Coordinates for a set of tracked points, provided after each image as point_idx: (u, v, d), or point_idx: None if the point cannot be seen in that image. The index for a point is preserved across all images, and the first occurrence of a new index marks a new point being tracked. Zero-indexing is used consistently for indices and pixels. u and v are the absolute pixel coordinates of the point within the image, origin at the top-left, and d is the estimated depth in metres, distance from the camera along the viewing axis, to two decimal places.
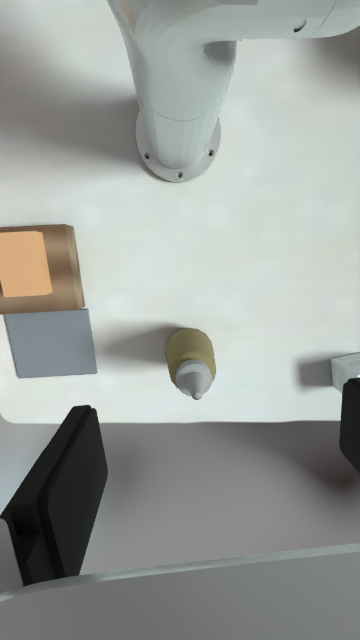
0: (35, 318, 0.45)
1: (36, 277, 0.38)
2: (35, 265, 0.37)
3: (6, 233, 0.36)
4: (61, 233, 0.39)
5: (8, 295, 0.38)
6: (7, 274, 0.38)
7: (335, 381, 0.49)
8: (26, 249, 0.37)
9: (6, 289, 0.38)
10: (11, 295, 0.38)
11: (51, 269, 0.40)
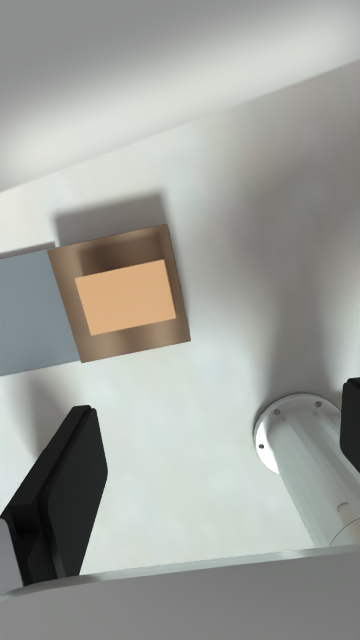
0: (57, 292, 0.31)
1: (113, 323, 0.27)
2: (130, 321, 0.27)
3: (166, 282, 0.26)
4: (178, 337, 0.30)
5: (79, 284, 0.26)
6: (110, 282, 0.26)
7: None
8: (150, 308, 0.26)
9: (87, 281, 0.26)
10: (79, 289, 0.26)
11: None
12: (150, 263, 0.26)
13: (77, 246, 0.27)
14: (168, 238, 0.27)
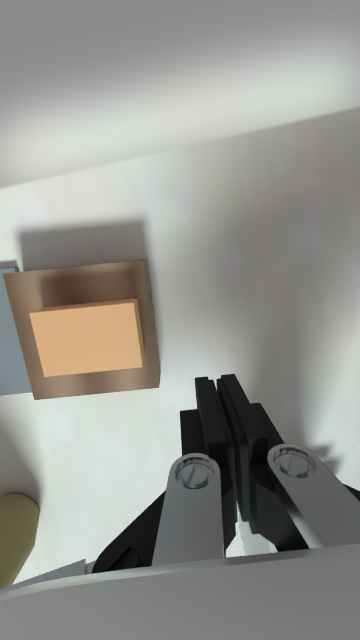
0: None
1: (71, 366, 0.24)
2: (90, 366, 0.24)
3: (135, 327, 0.23)
4: (146, 382, 0.27)
5: (34, 320, 0.23)
6: (70, 321, 0.23)
7: None
8: (113, 354, 0.23)
9: (43, 318, 0.23)
10: (34, 325, 0.23)
11: None
12: (118, 305, 0.22)
13: (38, 274, 0.24)
14: (143, 276, 0.24)
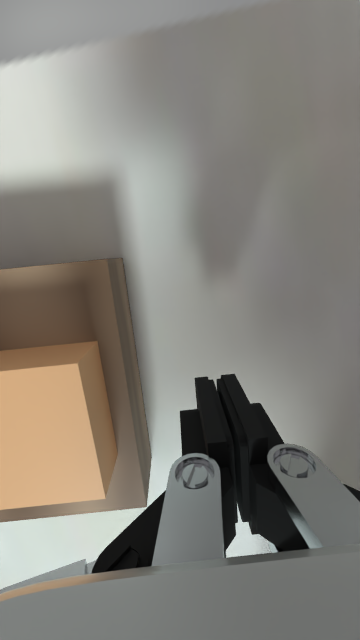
0: None
1: None
2: None
3: (85, 418, 0.10)
4: (120, 498, 0.14)
5: None
6: None
7: None
8: (39, 474, 0.10)
9: None
10: None
11: None
12: (41, 370, 0.09)
13: None
14: (109, 294, 0.11)
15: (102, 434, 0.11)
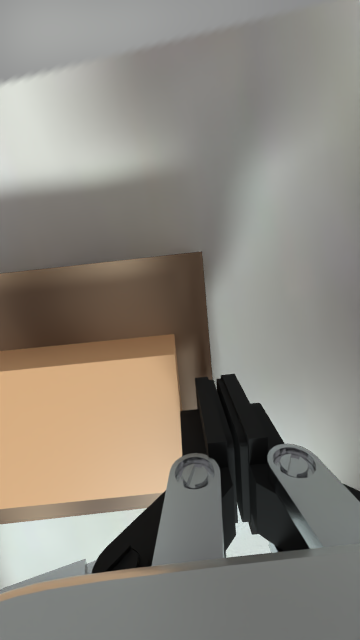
0: None
1: (30, 490, 0.11)
2: (73, 489, 0.11)
3: (176, 409, 0.10)
4: None
5: None
6: (23, 398, 0.10)
7: None
8: (126, 465, 0.10)
9: None
10: None
11: None
12: (138, 361, 0.09)
13: None
14: (201, 286, 0.11)
15: None
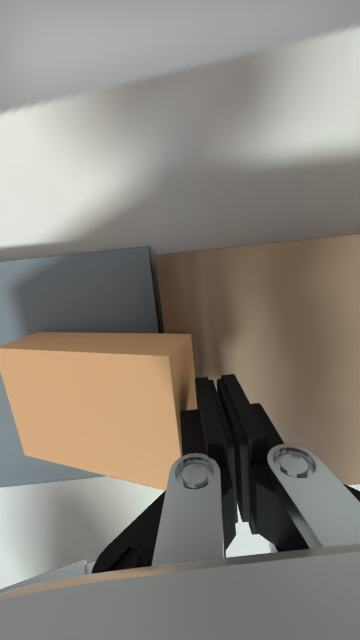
0: None
1: (59, 451, 0.13)
2: (88, 460, 0.12)
3: (171, 412, 0.10)
4: None
5: (1, 362, 0.12)
6: (52, 374, 0.11)
7: None
8: (128, 453, 0.11)
9: (13, 361, 0.12)
10: (2, 370, 0.12)
11: (307, 440, 0.13)
12: (135, 357, 0.10)
13: (232, 255, 0.11)
14: None
15: None
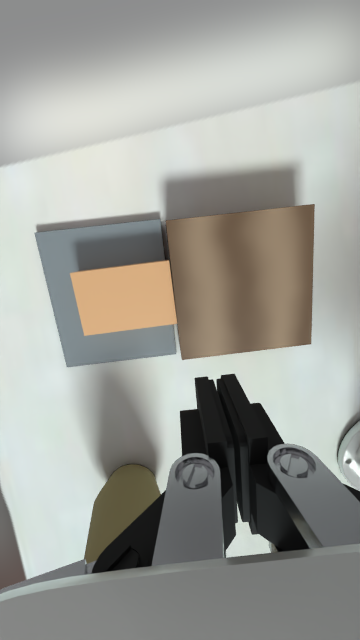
0: None
1: (109, 324, 0.25)
2: (127, 323, 0.25)
3: (170, 285, 0.24)
4: (298, 338, 0.26)
5: (74, 280, 0.24)
6: (109, 280, 0.24)
7: None
8: (150, 311, 0.25)
9: (83, 278, 0.24)
10: (75, 285, 0.24)
11: (246, 321, 0.25)
12: (154, 263, 0.24)
13: (203, 220, 0.23)
14: (312, 222, 0.23)
15: None
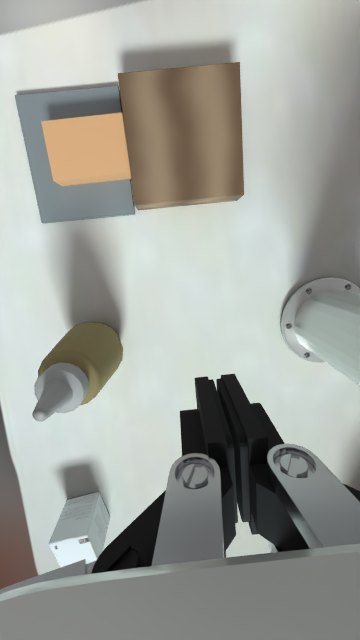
0: None
1: (74, 170, 0.30)
2: (89, 170, 0.30)
3: (124, 135, 0.29)
4: (233, 189, 0.31)
5: (45, 128, 0.29)
6: (73, 129, 0.29)
7: (73, 503, 0.44)
8: (107, 160, 0.30)
9: (52, 126, 0.29)
10: (45, 132, 0.29)
11: (188, 170, 0.30)
12: (110, 115, 0.29)
13: (148, 74, 0.28)
14: (238, 78, 0.28)
15: None
